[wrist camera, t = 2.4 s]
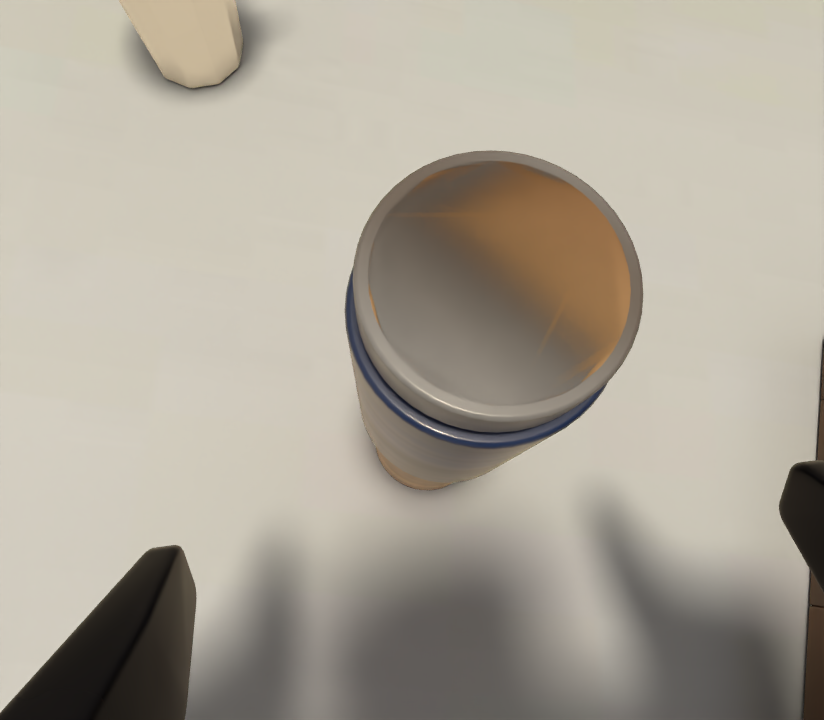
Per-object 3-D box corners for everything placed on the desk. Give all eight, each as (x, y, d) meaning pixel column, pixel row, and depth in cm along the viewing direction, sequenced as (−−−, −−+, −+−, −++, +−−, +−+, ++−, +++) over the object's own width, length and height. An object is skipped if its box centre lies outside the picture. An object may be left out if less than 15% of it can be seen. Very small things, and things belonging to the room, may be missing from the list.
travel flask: (471, 511, 19) (635, 472, 7) (353, 482, 19) (299, 388, 7) (496, 395, 20) (675, 176, 8) (383, 367, 20) (383, 108, 8)
